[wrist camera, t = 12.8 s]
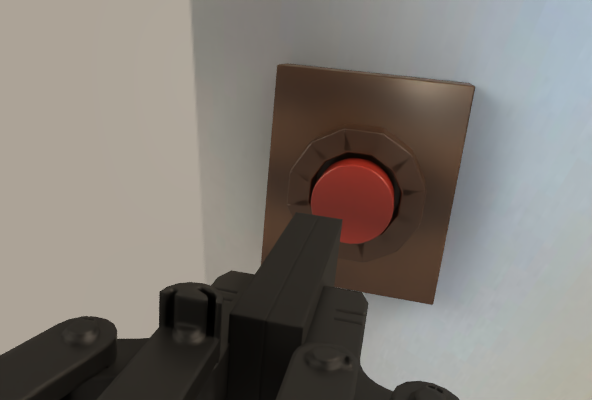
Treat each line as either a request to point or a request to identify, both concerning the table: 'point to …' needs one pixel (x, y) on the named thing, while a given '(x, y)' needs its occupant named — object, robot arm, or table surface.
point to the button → (355, 198)
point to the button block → (380, 150)
